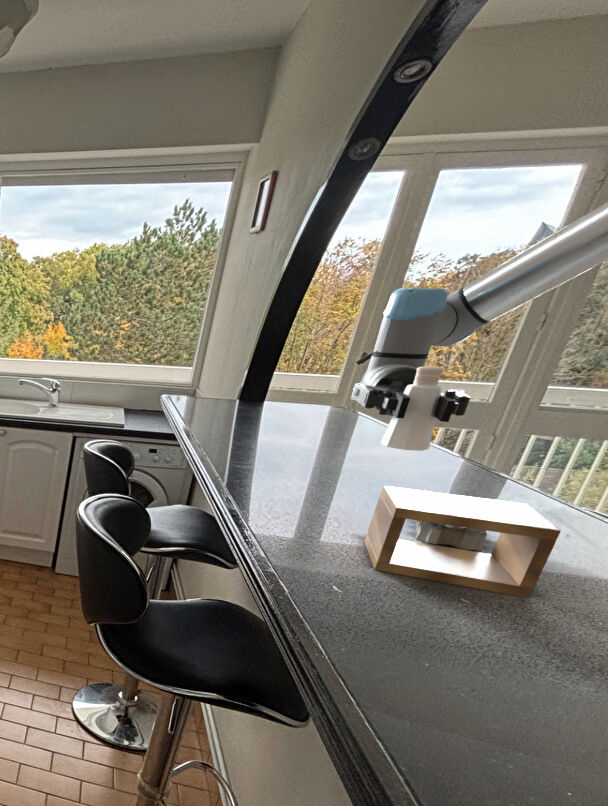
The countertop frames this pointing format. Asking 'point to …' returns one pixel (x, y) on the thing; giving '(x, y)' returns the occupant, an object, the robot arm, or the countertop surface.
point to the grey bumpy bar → (450, 535)
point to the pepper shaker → (416, 413)
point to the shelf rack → (499, 572)
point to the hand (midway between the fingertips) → (425, 409)
